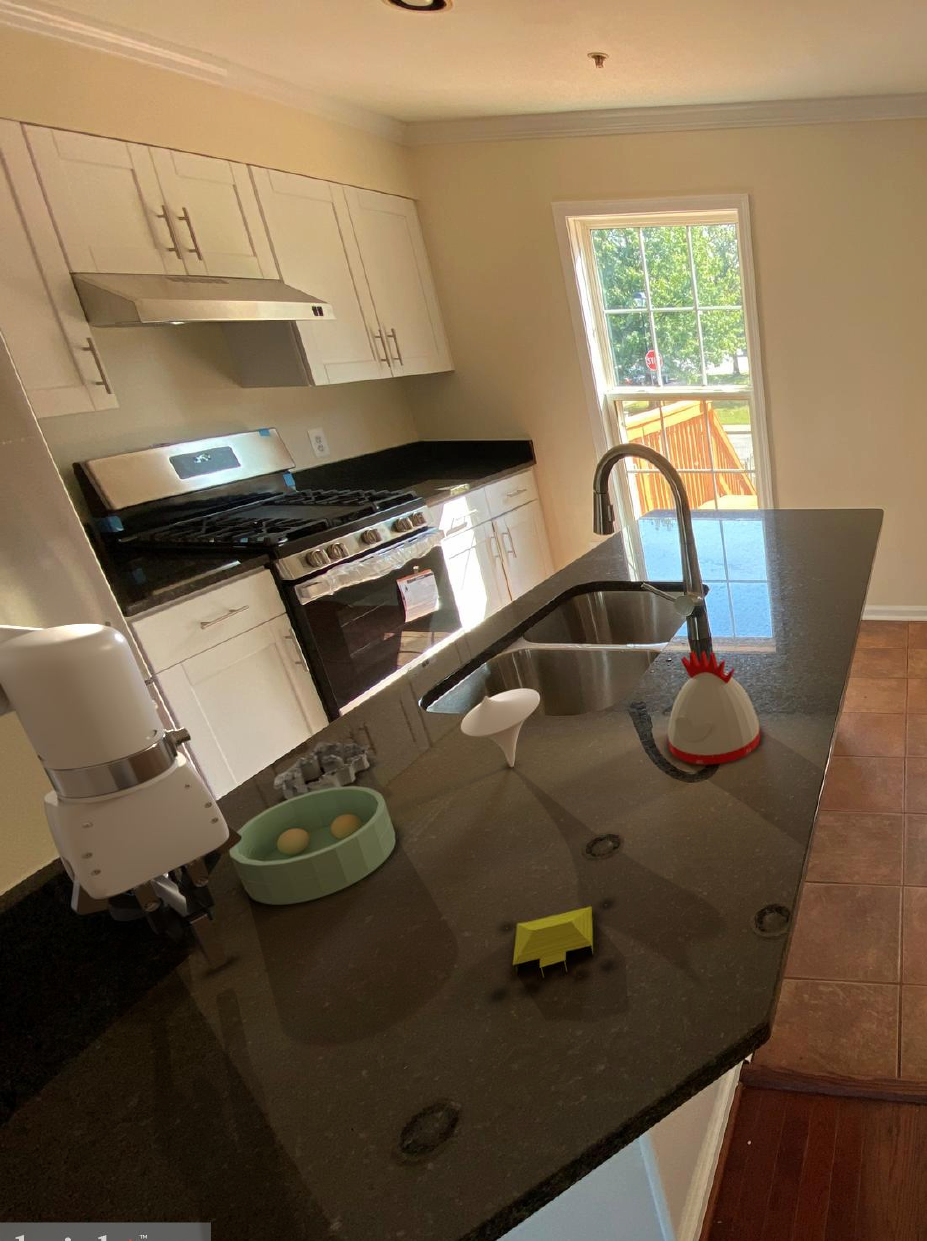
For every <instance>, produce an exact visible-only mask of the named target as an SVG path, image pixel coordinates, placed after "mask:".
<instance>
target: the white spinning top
mask: <svg viewBox="0 0 927 1241" xmlns="http://www.w3.org/2000/svg"><path fill="white" fill-rule="evenodd" d="M540 700H541V697H540V694H539V692H537V691H536V690H535V689H531V688H516V689H515V688H514V689H510V690H507V691H503V692H499V693H498V694H495V695H493V696H491V697H489V696H488V695H485V696H484V697H483V699H482V701H481V702H479V703H478V704H477V705H476V706H475V707H473V708H472V709H471V710H470V711H468V712H467V714H466V715H465V716H464V718H463V719H462V721H461V723H460V731H461V732H462V733H463V734H465V735H466V736H469V737H482V738H486V739H489V740H492V741H494V743H496V744H497V745H498V746H499V747H500V748H501V750H502V751H503V753H504V756H505V759H506V761H507V764H508V765H509V767H510V768H514V766H515V759H516V758H515V757H516V756H515V755H516V749H517V742H518V737H519V734H520V730H521V728H522V726H523V724H524V723H525V721H526V720H527V719H528V717H529V716H530V715H532V714H533V712H534V711H535V710H536V709H537V708H538V706H539V704H540Z"/></svg>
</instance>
